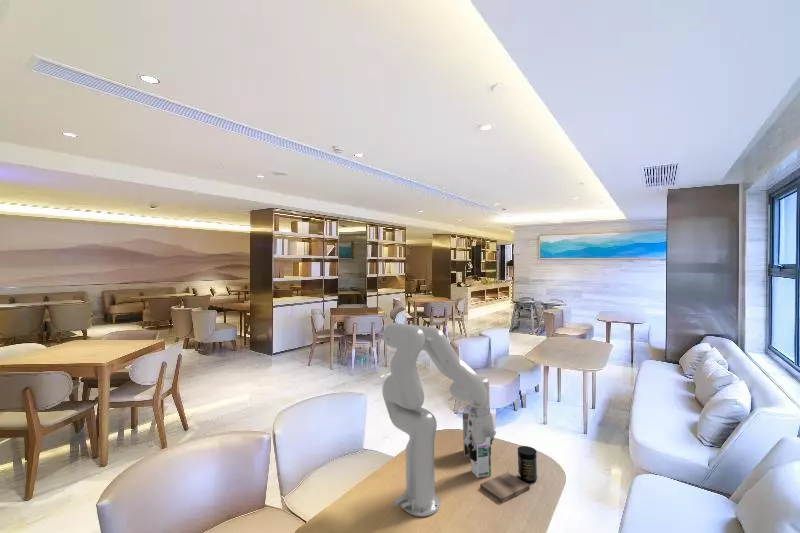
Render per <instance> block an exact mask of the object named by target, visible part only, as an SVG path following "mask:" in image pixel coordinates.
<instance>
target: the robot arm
mask: <svg viewBox="0 0 800 533" xmlns="http://www.w3.org/2000/svg"><path fill="white" fill-rule="evenodd" d="M383 329H384V330H383V333H382V339H383V342H384V343H385V345H387V346H388V347H389V348H392V349H396V350H395V351H394V354H393V356H392V358H391V361H390V366H389V369H390V370H389V371H390V374H389V375H388V376H387V377H386V378H385V379H384V382H383V383H382V384H383V385H382V397H383V400H384V404H385V407H386V410H387V413H388V416H389V419H390V421H391V423H392V424H393V426H394V427H395V428H397V429H398V430H400V431H402V432H403V433H405V434H407V435H408V436H409V439H408V441H407V444H406V447H405V490H403V494H402V495H400V497H397V498H395V499H393V501H392V503H393V504H392V505H393V506H394V507H398V506H400V508H401V509H403V510H404V511H405V513H407V514H408V515H411V516H415V517H427V516H431V515H433V514H436V512H437V511H438V510H439V509H440V506H441V505H440V498H439V496H438V495H436V492H435V491H436V490H435V489H436V486H435V485H436V484H435V439H436V433H437V426H438V424H437V422H438V421H437V419H436V417H435V415H434V414H433V413H432V412H431V411H430V410H428V409H426V408H424V407H422V406H423V405H424V402H425V394H424V388H423V386H422V382H421V379H420V375H419V373H418V368H417V362H418V357H419V355H420V353H421V351H424V352H426V353H427V354H428V357H429V358H430V359H431V360H432V362H433V364H434V365H435V367H436V368H437V370H438V371H439V372H440V373H441V374H442V375H443V376H445V377H447V379H450V380H451V381H452V382H451V384H450V386H449V392H450V395H451V396H452V398H454V399H455V400H458V401H461V402H463V403H466V404H469V409H468V412H467V413H470V414H469V417H468V425H467V436H466V438H465V439H464V441H463V442H464V443H465V445H466V446H467V447H468V448H469V449H470V458H469V459H470V460H471V459H472V460H473V461H477V451H476V450H475V449H476V444H481V443H483V442H485V441H486V438H488V437H490V452H491V453H492V445H493V440H494V439H495V436H496V433H497V432H496V430H495V429H494V428H495V427H494V419H493V416H492V412H491V410H490V409H491V408H490V380H489V379H488V378H487V377H485V376H480V375H479V374H477V371H475V370H474V369H472V368H471V367H470V366H469V365H468V364H467V363H466V362H465V361H463V360H462V359H461V358H460V357H459V356H458V354H457V353H456V350H454V347H452V345H451V343H450V341H449V340H448V338H447V337H446V335H445V333H444V332H443V330H441V329H439V328H437V327H434V326H433V327H432V326H427V325H416V324H408V323H407V324H406V323H399V322H393V323H392V322H391V323H389V324H388V325H387V326H386V327H385V328H383ZM469 440H470V442H469ZM463 442H462V443H463ZM472 443H474V444H473V446H472Z"/></svg>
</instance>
